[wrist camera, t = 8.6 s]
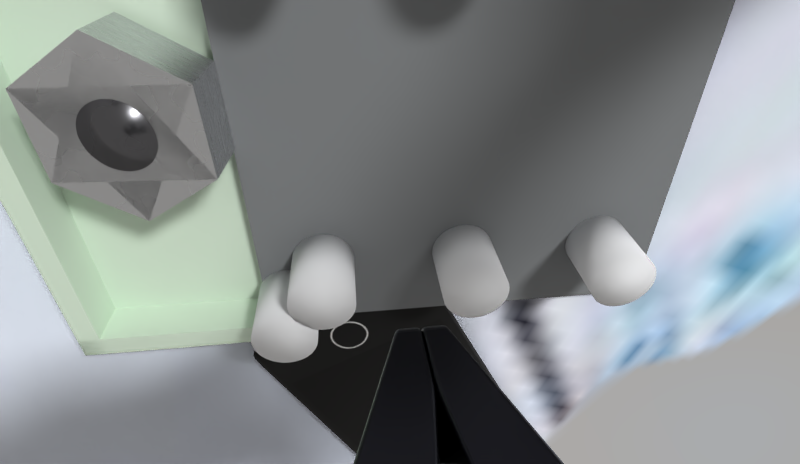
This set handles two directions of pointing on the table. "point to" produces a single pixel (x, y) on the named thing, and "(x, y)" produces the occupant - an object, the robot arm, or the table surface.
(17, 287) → the table surface
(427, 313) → the cell phone
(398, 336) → the robot arm
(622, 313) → the table surface
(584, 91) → the spacer field
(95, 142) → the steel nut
